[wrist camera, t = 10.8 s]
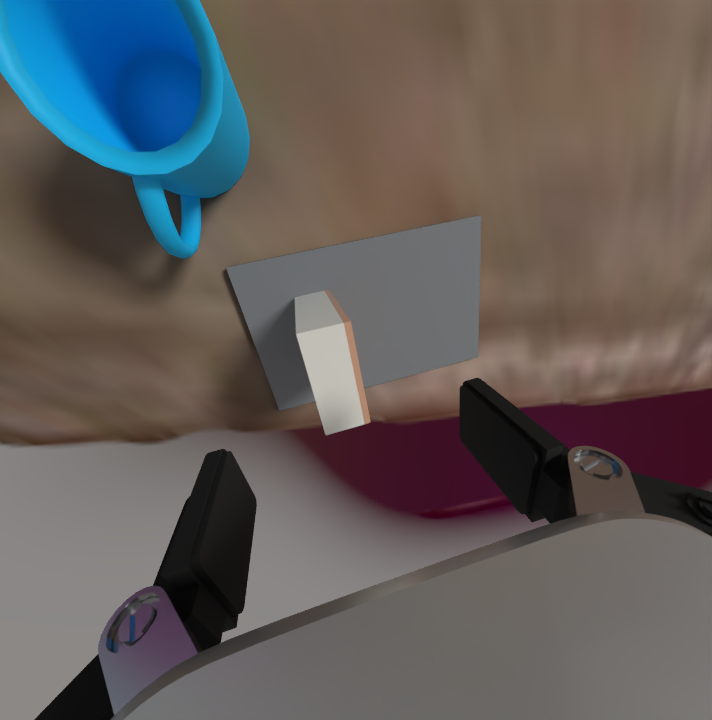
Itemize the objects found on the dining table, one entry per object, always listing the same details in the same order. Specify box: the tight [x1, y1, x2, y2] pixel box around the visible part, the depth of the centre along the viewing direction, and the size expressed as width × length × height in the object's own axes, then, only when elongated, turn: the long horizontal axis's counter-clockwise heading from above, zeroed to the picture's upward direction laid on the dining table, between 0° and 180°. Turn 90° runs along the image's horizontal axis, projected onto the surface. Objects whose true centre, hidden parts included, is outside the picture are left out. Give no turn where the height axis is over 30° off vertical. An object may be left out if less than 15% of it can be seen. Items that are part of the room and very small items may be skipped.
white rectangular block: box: [295, 290, 370, 435], centre depth 20 cm, size 7×3×10 cm, turn 11°
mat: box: [226, 216, 481, 411], centre depth 26 cm, size 14×22×1 cm, turn 101°
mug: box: [0, 0, 250, 259], centre depth 15 cm, size 12×8×8 cm
